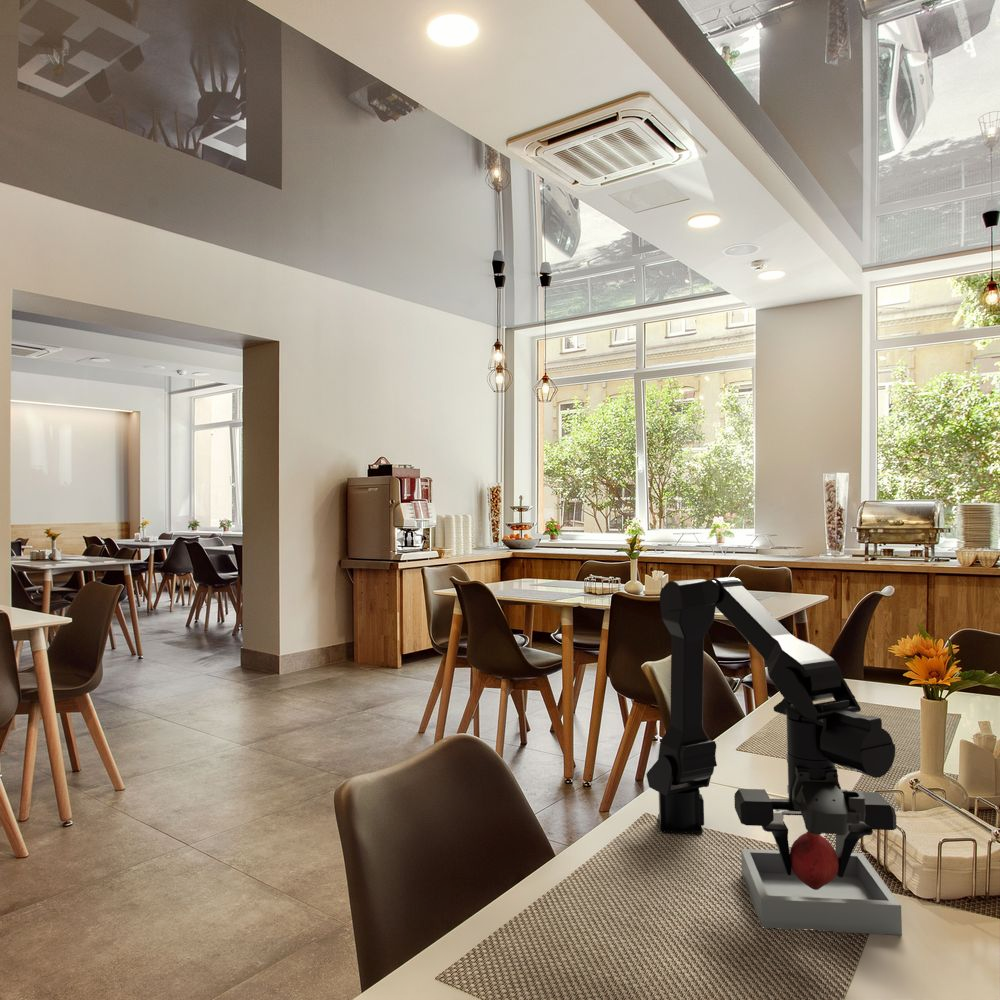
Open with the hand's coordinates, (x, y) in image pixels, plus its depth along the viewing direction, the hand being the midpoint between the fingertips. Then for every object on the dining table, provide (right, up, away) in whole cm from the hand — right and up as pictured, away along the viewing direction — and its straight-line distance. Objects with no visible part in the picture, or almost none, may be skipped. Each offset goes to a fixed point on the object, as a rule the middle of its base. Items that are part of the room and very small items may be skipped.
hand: (814, 875), depth 100 cm
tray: (0, -3, 0) cm, 3 cm away
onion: (0, -2, 0) cm, 2 cm away
